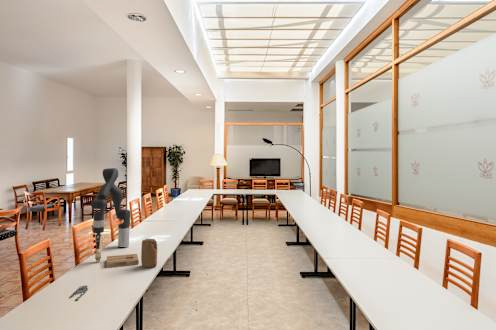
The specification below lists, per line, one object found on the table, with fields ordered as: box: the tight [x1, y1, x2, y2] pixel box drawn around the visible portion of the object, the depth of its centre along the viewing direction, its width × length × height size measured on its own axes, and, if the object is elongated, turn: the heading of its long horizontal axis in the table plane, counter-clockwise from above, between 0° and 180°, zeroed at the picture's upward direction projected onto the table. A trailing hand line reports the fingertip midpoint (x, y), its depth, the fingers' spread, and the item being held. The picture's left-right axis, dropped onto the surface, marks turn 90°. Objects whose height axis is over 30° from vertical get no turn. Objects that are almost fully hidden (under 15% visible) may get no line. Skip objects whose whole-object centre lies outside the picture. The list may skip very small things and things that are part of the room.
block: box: [140, 238, 158, 269], centre depth 233 cm, size 11×8×20 cm
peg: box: [94, 247, 102, 264], centre depth 240 cm, size 4×4×10 cm
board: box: [105, 253, 140, 269], centre depth 241 cm, size 18×22×3 cm
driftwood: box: [68, 285, 89, 301], centre depth 185 cm, size 21×7×2 cm, turn 5°
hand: (98, 247), depth 239 cm, fingers open, 8 cm apart
